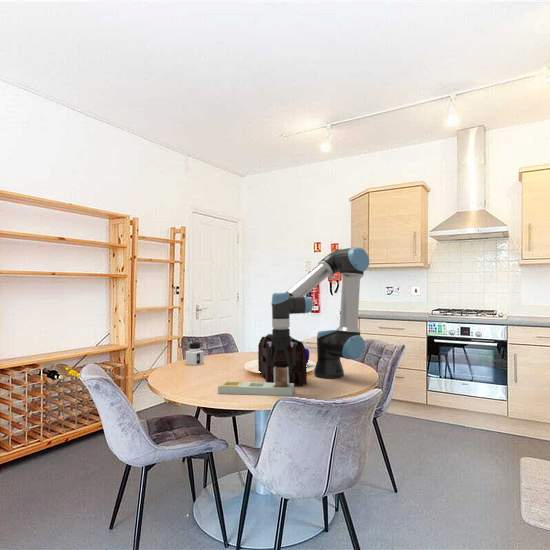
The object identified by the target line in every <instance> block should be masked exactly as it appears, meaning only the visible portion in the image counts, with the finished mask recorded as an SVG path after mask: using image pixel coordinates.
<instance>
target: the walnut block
mask: <svg viewBox="0 0 550 550" xmlns="http://www.w3.org/2000/svg"><path fill="white" fill-rule="evenodd" d="M275 372H276V387H287V368H276V370H275Z"/></svg>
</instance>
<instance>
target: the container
mask: <svg viewBox="0 0 550 550" xmlns="http://www.w3.org/2000/svg"><path fill="white" fill-rule="evenodd" d="M204 357H205V356H204V350H201V343H200V342H198V341H191V342H189V344H188V350H186V351H185V365H188V366H194V365H195V366H199V365H203V364H204V362H205V360H204Z"/></svg>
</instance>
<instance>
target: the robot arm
mask: <svg viewBox="0 0 550 550" xmlns="http://www.w3.org/2000/svg"><path fill="white" fill-rule="evenodd" d="M369 266H370V258H369V254H368V253H367V252H366V250H365V249H364V248H362V247H354V246H353V247H349V248H341V249H336V250H334V251H332V252H330V253H328V254H327V255H326V256H325V257H323V258H322V259H321V260H319V261H318V263H317V266H315V267H314V268H313V269H312V270H311V271H309V272H308V273H306V275H304V276H303V277H302V278H301V279H300V280H299V281H297V282H296V283H295V284H294V285H292V286H291V287H290V288H289V289H287V291H285V292H274V293H273V294H272V295H271V297H272V298H271V313H272V314H271V321H272V322H271V323H272V324H271V325H272V326H271V327H272V331H271V332H272V333H271V334H272V341H271V342H267V343H266V347H267V366H270V367H271V374H272V375H274V383H276V372H275V370H276V367H274V366H275V361H276V357H277V353H278V350H284V352H285V356H286V360H287V364H288V367H287V383H289V375H291V373H292V367H293V366H295V365H296V354H295V348H296V345H297V343H296V342H295V343H294V342H291V340H290V336H291V333H290V324H291V323H290V315H292V314H293V315H294V314H295V315H296V314H297V315H298V314H299V315H300V314H304V315H305V314H309V313H311V311H312V310H313V300H312V299H311V298H310V297H309V296H306V295H308V294H309V293H310V292H311V291H313V290H314V289H315V288H316V287H317V286H318V285H319V284H321V283H322V282H323V281H324V280H326V279H327V278H331V277H332V276H333V275H335V274H338V273H339V275H340V276H341V278H342V281H341V297H340V298H341V299H340V313H339V314H340V315H339V326H338V327H337V328H336V329H331V330H320V331H318V332H317V335H316V352H317V355H316V359H317V360H316V364H315V367H314V371H313V375H314V376H315V377H316V378H322V379H339V378H340V379H341V378H343V377H344V376H345V370H344V368H343V364H342V362H341V358H342V359H346V360H357V359H359V358H360V357H361V356H362V355H363V353H364V351H365V348H366V343H365V340H364V338H363V337H362V336H361V331H360V329H359V328H358V324H359V323H358V321H359V303H360V289H361V278H363V277H364V272H365V271H366V270H368V268H369ZM271 344H273V346H274V347H275V351H274V355H273V360H272V363H270V347H271ZM290 344H291V347H292V364H291V361H290V357H289V353H288V349H287V347H288V346H289V345H290Z"/></svg>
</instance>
